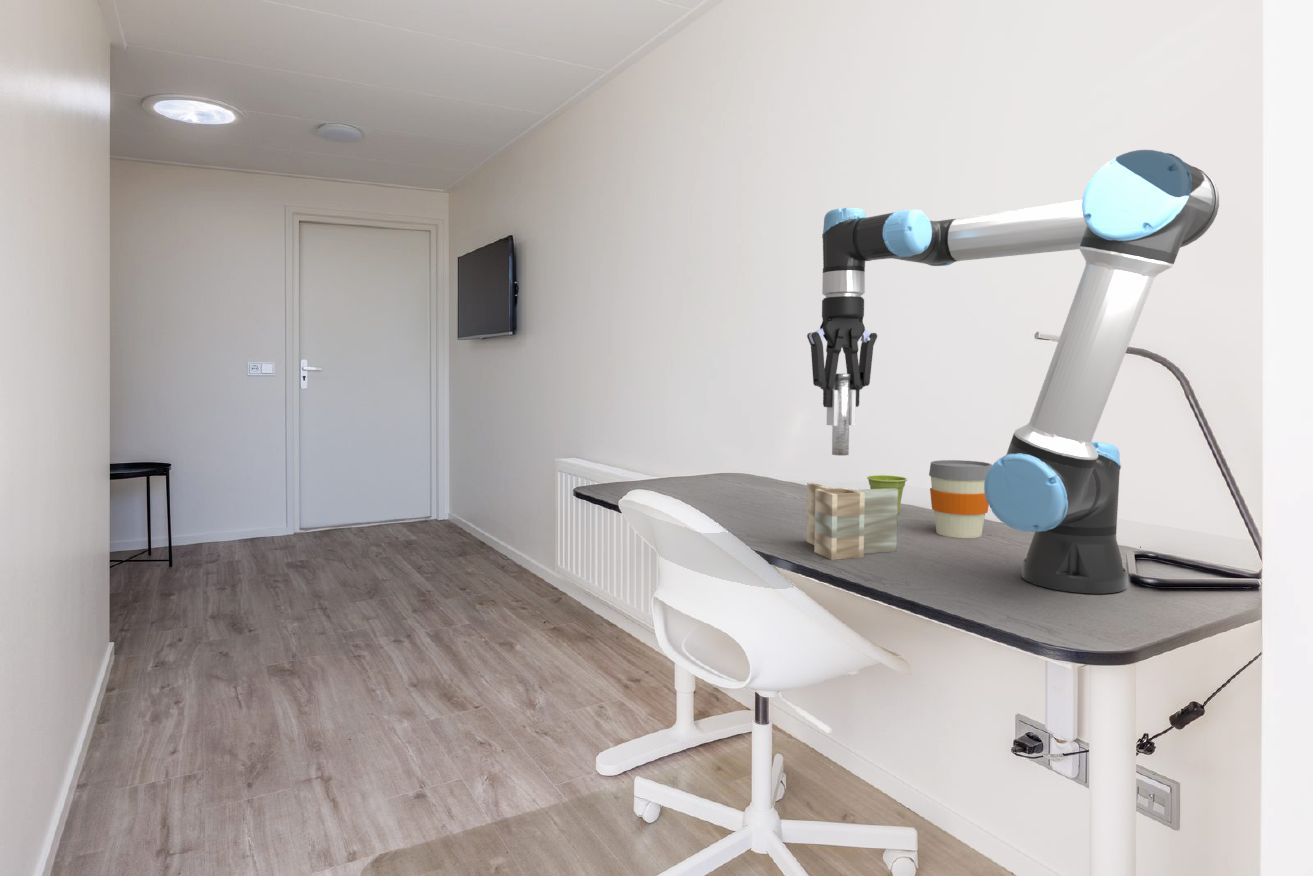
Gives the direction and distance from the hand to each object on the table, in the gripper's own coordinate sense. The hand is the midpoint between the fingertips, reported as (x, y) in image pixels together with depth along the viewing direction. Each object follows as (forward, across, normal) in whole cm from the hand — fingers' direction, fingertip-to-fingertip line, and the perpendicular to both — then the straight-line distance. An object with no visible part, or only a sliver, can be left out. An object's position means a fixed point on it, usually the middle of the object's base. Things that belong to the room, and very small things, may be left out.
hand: (840, 424), depth 145 cm
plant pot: (+25, -33, -36) cm, 55 cm away
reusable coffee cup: (+25, -34, -10) cm, 43 cm away
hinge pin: (+6, 0, 0) cm, 6 cm away
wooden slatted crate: (+24, -4, -4) cm, 25 cm away
